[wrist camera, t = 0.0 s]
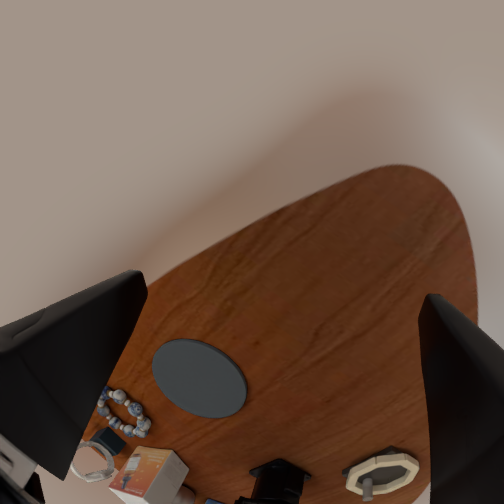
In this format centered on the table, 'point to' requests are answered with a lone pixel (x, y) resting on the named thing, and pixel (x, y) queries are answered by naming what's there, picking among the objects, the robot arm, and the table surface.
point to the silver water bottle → (184, 496)
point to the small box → (150, 477)
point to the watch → (107, 446)
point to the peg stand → (378, 473)
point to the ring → (383, 462)
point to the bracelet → (133, 409)
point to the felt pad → (199, 378)
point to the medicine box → (212, 502)
